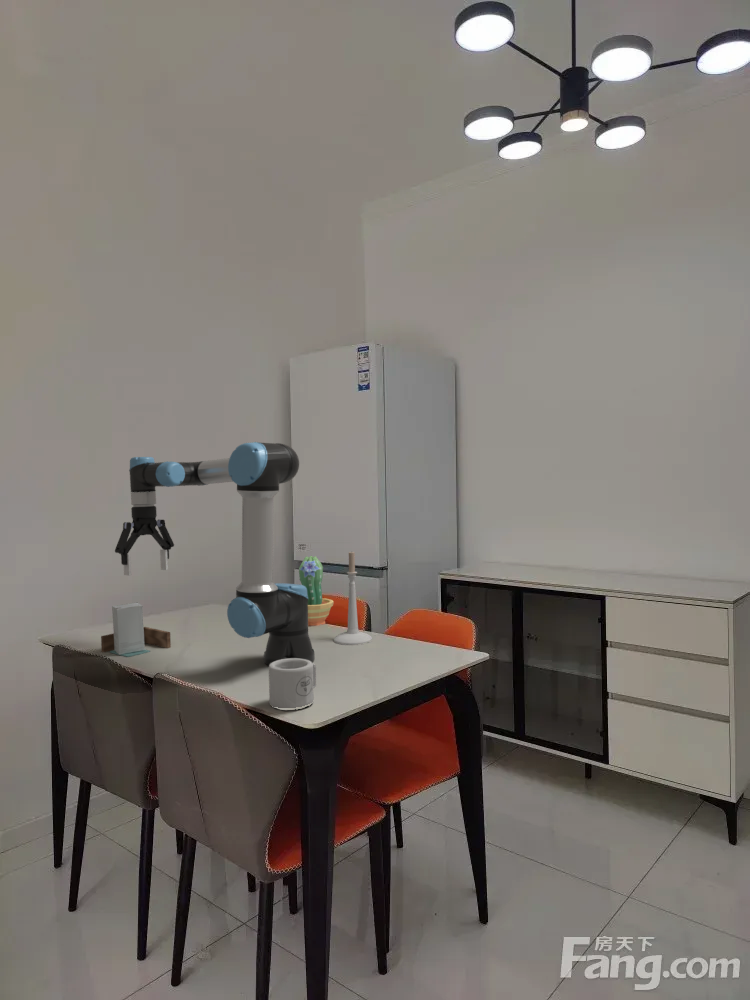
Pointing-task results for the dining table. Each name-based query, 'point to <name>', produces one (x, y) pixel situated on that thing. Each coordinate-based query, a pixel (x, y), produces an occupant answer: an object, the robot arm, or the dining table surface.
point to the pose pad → (131, 653)
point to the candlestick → (352, 613)
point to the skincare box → (128, 628)
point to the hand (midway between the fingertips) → (146, 572)
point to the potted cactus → (314, 590)
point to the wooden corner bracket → (150, 637)
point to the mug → (291, 682)
